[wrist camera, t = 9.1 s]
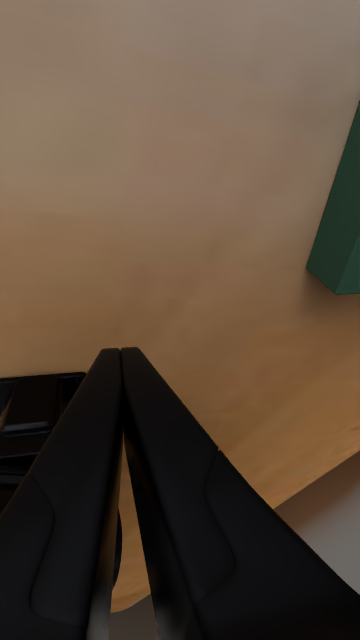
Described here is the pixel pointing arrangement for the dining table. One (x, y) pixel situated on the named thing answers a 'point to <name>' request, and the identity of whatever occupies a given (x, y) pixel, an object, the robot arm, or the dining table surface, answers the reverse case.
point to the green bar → (341, 224)
